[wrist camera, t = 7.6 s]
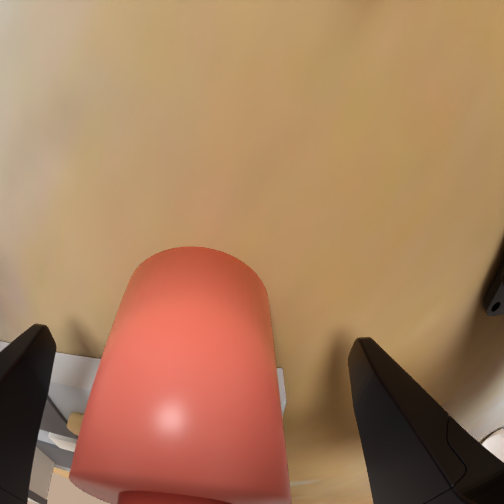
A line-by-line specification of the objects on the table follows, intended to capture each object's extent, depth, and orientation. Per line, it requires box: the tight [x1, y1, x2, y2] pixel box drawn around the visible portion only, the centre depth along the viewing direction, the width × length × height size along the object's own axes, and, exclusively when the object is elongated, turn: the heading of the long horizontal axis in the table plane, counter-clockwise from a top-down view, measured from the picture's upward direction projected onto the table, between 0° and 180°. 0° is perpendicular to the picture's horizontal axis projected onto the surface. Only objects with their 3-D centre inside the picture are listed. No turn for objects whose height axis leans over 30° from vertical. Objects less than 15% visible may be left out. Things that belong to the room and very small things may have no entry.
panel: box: [0, 341, 287, 504], centre depth 12 cm, size 19×14×6 cm
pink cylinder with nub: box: [69, 247, 292, 504], centre depth 7 cm, size 4×4×7 cm
